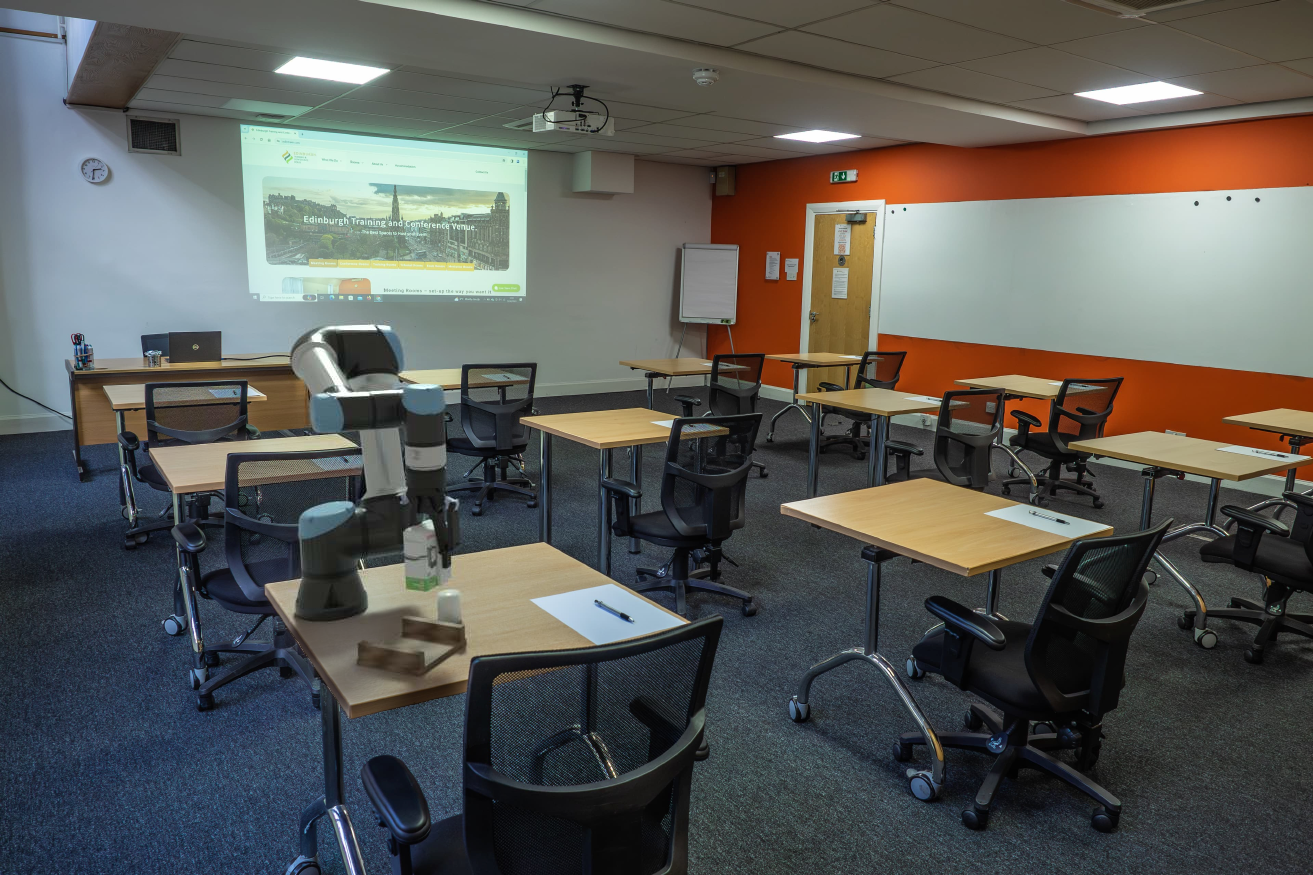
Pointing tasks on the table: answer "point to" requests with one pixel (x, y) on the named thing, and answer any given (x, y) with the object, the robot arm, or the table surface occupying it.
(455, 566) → the table surface
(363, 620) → the table surface
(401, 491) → the robot arm
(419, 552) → the ink box
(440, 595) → the white cylinder
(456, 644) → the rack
